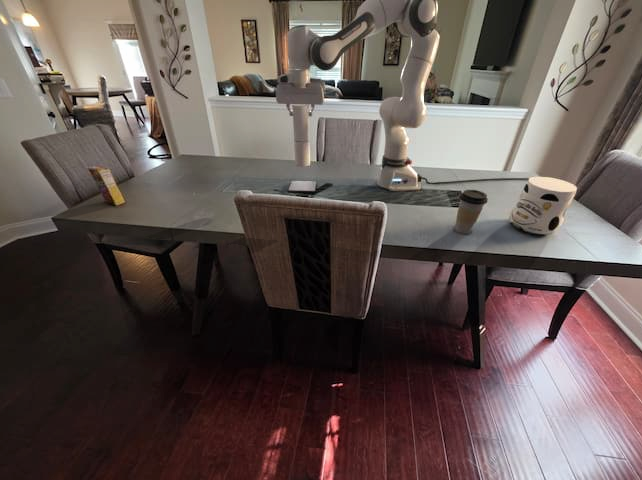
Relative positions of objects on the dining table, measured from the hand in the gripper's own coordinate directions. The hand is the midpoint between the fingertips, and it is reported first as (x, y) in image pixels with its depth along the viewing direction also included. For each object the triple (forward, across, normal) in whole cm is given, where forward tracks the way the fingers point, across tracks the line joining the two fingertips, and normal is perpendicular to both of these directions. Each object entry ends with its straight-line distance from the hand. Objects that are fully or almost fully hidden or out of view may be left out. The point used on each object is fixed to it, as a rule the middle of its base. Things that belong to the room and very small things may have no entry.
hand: (300, 115), depth 123 cm
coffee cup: (+32, -67, +38) cm, 84 cm away
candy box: (+33, +83, +24) cm, 92 cm away
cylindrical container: (+21, 0, 0) cm, 21 cm away
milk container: (+32, -95, +34) cm, 106 cm away
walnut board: (+32, 0, 0) cm, 33 cm away
